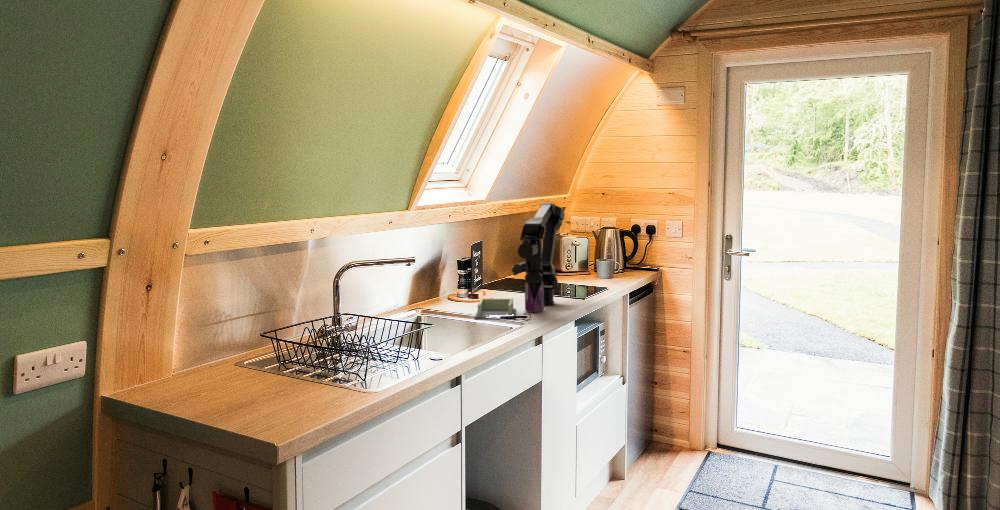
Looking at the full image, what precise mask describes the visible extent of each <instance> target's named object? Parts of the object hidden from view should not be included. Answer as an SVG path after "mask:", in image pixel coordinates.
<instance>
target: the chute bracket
mask: <svg viewBox="0 0 1000 510" xmlns="http://www.w3.org/2000/svg"><path fill="white" fill-rule="evenodd" d="M516 311H517V308H515V307H514V298H481V299H479V302H478V303H477V312H476V313H475V315H474V320H484V319H483V318H486V317H487V316H488V317H489V315H506V314H508V315H512V314H515V315H516V313H515V312H516ZM486 315H487V316H486Z"/></svg>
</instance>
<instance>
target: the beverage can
mask: <svg viewBox="0 0 1000 510" xmlns="http://www.w3.org/2000/svg"><path fill="white" fill-rule="evenodd" d="M524 309H525V311H526V312H528V313H530V312H531V313H532V314H535V313H536V314H537V313H541V312H543V311H544V310H545V305H544V284H543V280H542V283H541V286H540V289H539V291H538V294H537V296H536V299H533V298H532V293H531V289H530V285H529V284H527V283H526V282H525V284H524Z"/></svg>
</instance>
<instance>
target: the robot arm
mask: <svg viewBox="0 0 1000 510" xmlns="http://www.w3.org/2000/svg"><path fill="white" fill-rule="evenodd" d="M565 217H566V216H565V211H564V210H563V208H562V207H560V206H558V205H556V204H555V203H553V202H542V203H540V206H539V209H538V210H537V212H536V213H535V215H534V217H533V218H529V219H528V220H526V221H525V223H524V224H523V225H522V229H521V234H520V240H519V241H522V243H521V244H520V245H519V246H518V249H517V253H518V255H519V258H521V259H524V261H522V262H520V263H518V262H516V264H513V265H512V266H511V267H510V269H511V272H512V274H513V276H518V275H519V274H522V273H524V272H525V273H526V274H525V275H524V282H525V283H527V284H529V285H530V289H531V293H532V298H533V299H536V296H537V294H538V291H539V289H540V286H541V283H542V280H543V284H544V306H555V300H554V291H555V290H559V279H558V278H557V275H556V269H555V268H554V266H553V263H554V262H553V261H554V256H555V249H556V240H557V234H558V230H559V229H560V228H561V227H562V225H563V221H564V220H565ZM542 242H543V243H542Z"/></svg>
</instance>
